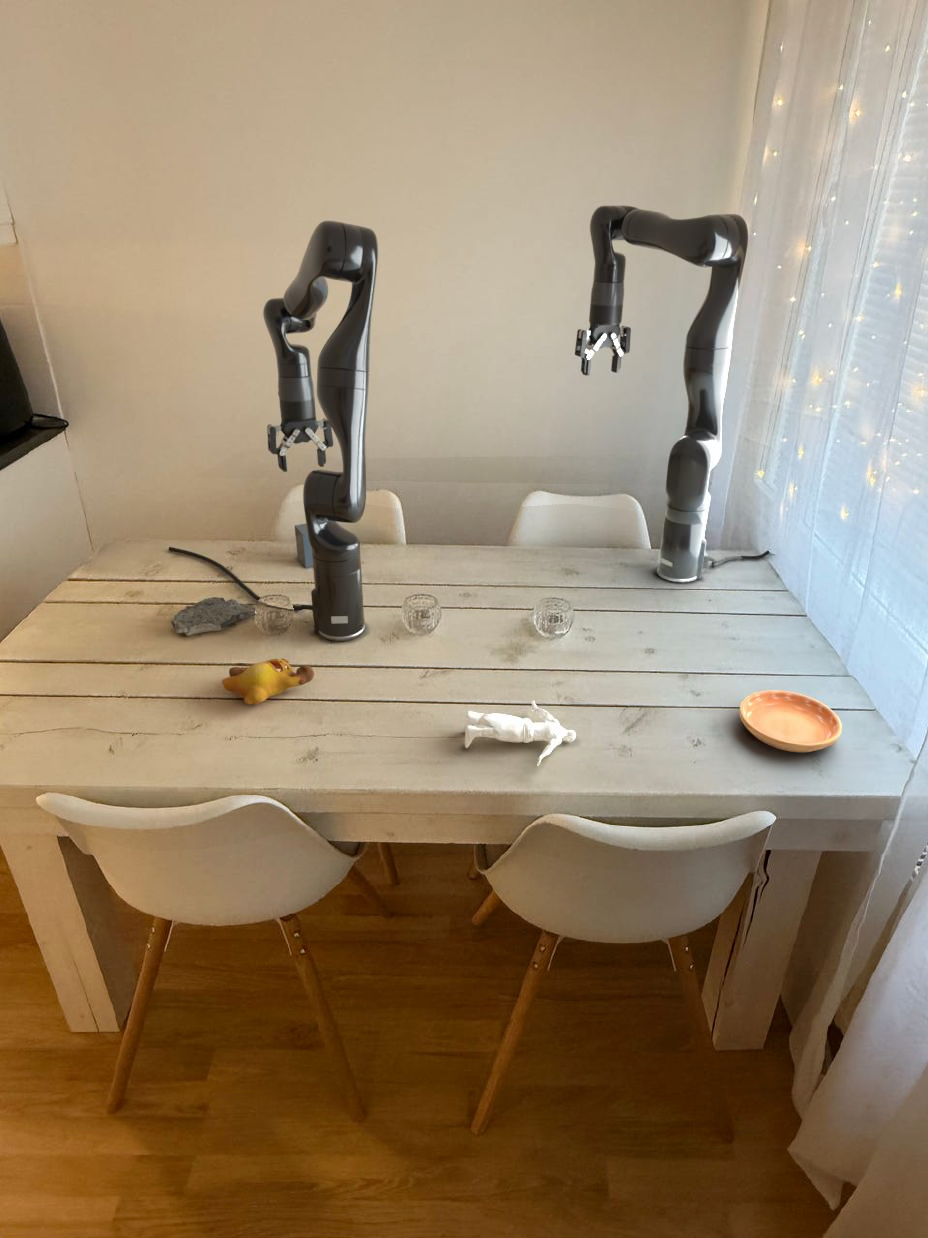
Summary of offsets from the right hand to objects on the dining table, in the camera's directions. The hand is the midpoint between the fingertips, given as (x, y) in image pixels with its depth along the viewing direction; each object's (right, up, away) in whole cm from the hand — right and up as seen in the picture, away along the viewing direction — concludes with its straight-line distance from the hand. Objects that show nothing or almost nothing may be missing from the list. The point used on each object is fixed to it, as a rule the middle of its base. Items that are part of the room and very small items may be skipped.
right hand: (600, 373), depth 197 cm
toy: (-67, -72, -51) cm, 111 cm away
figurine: (-24, -79, -63) cm, 104 cm away
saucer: (+21, -78, -60) cm, 101 cm away
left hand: (-69, -25, -13) cm, 75 cm away
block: (-70, -45, -2) cm, 83 cm away
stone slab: (-85, -60, -29) cm, 108 cm away
